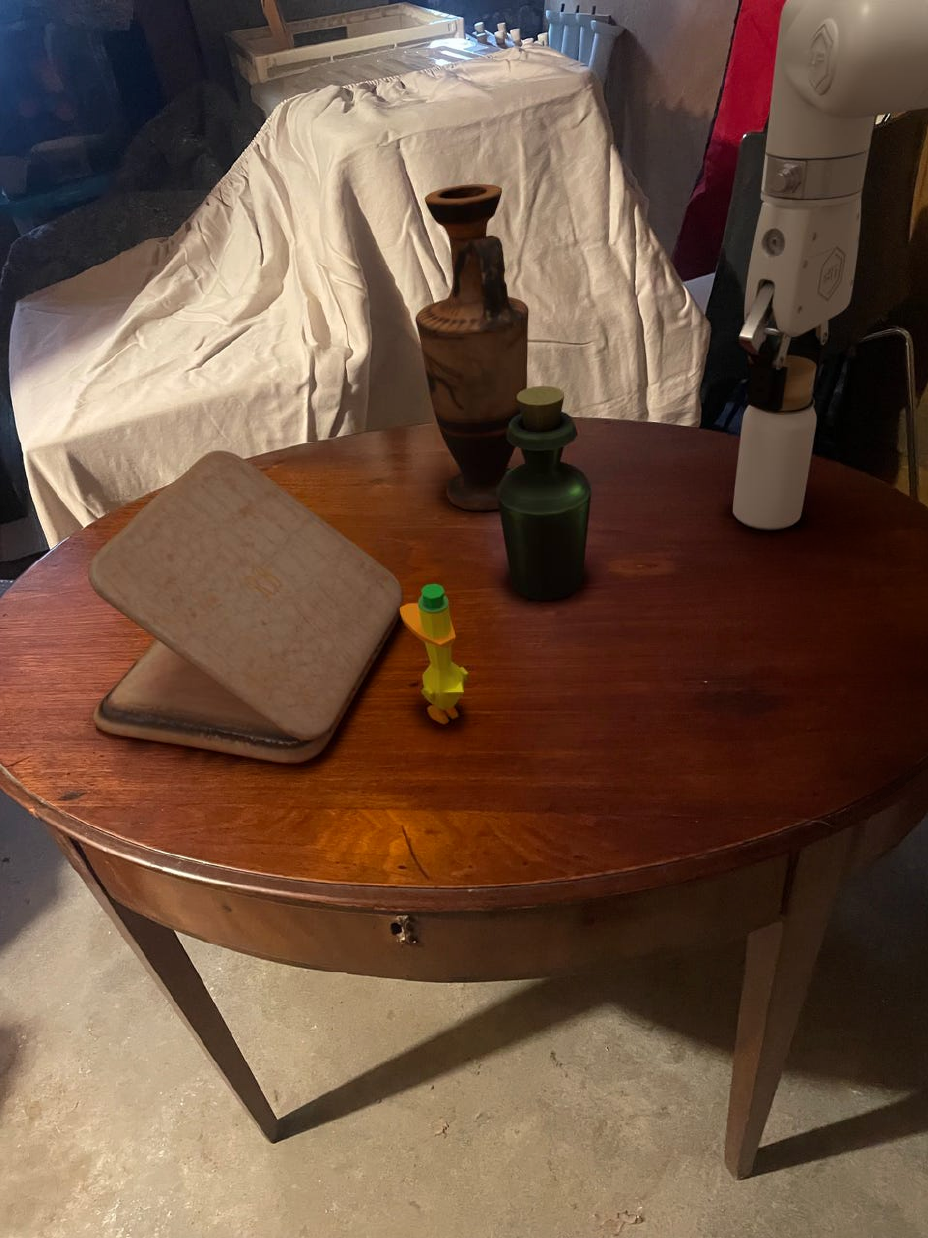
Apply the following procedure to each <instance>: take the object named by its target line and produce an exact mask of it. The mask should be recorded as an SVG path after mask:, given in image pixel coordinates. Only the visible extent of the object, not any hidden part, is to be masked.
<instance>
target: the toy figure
mask: <svg viewBox="0 0 928 1238" xmlns="http://www.w3.org/2000/svg"><path fill="white" fill-rule="evenodd" d="M420 591H421V596H420V597H419V598H418V600H417V602H416V603H413V602H412V603H411V602H410V603H406V604H405V605H401V606H400V608H399V614H400V616H401V620H402V622H403V623H404V625H405V627H406V628H407V629H408V630H409V631H410V632H411V633H412V634H413V635H414V636H415V637H416V638H418V639H419V640H420V641H422V642H423V643H424V645H425V648H426V653H427V655H428V658H429V662H430V664H429V666H428V667H427V668H426V669H425V671H424V672H423V673H422V674H421V678H422V685H423V688H421V694H422V695H423V697H424V698H425V699H426V701H428V702H429V703H430V704H431V705H429V706H428V707H427V708H426V710H427V713H428V715H429V717H430V718H431V719H432V720H434V721H435V722H437V723H440V724H442V725H446V724H447V723H448V722H450V721H449V718H451V719H452V720H454V719H457V718H459V713H458V711H457V709H456V707H455V706H456V705H457V703H458V702H459V701H460V699H461V698H462V696H463V695H464V694H465V692H466V691H465V683H469V672H468V671H467V670H466V669H465V668H464V666H461V667H460V666H459V665H458V664H456V663H455V662H454V661H452V647H453V644H454V642H455V641H456V639H457V636H456V633H455V629H454V626H453V623H452V619H451V612H450V605H449V603H450V602H449V598H448V596H446V595H445V589H444V587H443V585H440V584H437V583H430V584H425V586H423V588H422V589H420Z"/></svg>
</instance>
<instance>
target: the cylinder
mask: <svg viewBox="0 0 928 1238" xmlns="http://www.w3.org/2000/svg"><path fill="white" fill-rule="evenodd" d="M783 366H785V367H788V369H787V376H786V383H785V390H784V397H783V404H782V409H781V410H779V411H792V410H798V409H801V408H804V407H806V406H808V405H809V404H810V402H811V398H812V397H813V391H814V389H813V386H814V379H815V373H816V364H815V363H814V362H813V361H812V360H810V359H807V358H804V357H799V356H794V355H786V357H785V360H784V364H783Z"/></svg>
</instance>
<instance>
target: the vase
mask: <svg viewBox="0 0 928 1238" xmlns="http://www.w3.org/2000/svg"><path fill="white" fill-rule="evenodd" d="M502 194H503V188H502V187H500V186H498V185H495V184H485V183H473V184H472V183H471V184H469V183H468V184H460V185H455V186H449V187H448V186H447V187H444V188H440V189H438V190H435V191H432V192H430V193H428V194H426V196H425V197H424V202H425V205H426V207H427V209H428V211H429V214H430V215H431V217H432V218H433V220H434V221H435V223H437V224H438V225H439V226H442V227H443V229H444V230H445V232H446V235H447V236H448V241H449V246H450V259H451V268H452V269H451V270H452V284H451V290H450V292H449V295H448V297H447V298H445V299H442V300H438V301H435V302H433V303H430V304H427V305H426V306H424V307H423V308H421V309H420V310H419V311H418V312H417V314H416V316H415V320H414V321H415V325H416V328H417V332H418V333H417V334H418V337H419V341H420V348H421V353H422V359H423V364H424V365H423V366H424V369H425V375H426V380H427V385H428V390H429V396H430V401H431V406H432V409H433V413H434V416H435V421H436V424H437V425H438V429H439V431H440V435H441V437H442V439H443V441H444V443H445V445H446V448H447V449H448V451H449V452H450V454H451V456H452V458H453V460H454V461H455V463H456V465H457V467H458V469H459V470H460V472H458V473H457V474H456V475H454V476H452V478H451V479H450V480H449V481H448V483H447V487H446V497H447V498H448V499H449V502H450V503H451V504H452V505H453V506H455V507H458V508H460V509H464V510H466V511H467V510H468V511H475V512H484V511H485V512H486V511H487V512H488V511H494V510H495V511H496V510H499V504H498V498H497V488H498V486H499V484H500V482H501V480H502V479H503V477H504V476H505V474H506V473H507V472H508V471H510V470H512V469H513V468H510V467H508V465H509V463H510V462H511V458H512V457H513V454H514V451H515V449H516V447H515V446H513V445H512V444H511V443H509V442H508V441H507V436H506V434H507V430H508V427H509V423H510V422H511V420H512V419H513V418H514V417H515V416H517V415H519V414H521V411H520V407H519V403H518V400H517V395H518V393H519V392H521V391H522V390H524V389H527V388H528V353H529V352H528V351H529V348H528V347H529V346H528V344H529V342H528V341H529V340H528V339H529V338H528V337H529V314H530V313H529V312H530V311H529V307H528V305H527V304H526V303H525V302H523V301H522V300H520V299H519V298H516V297H512V296H509V293H508V284H507V282H506V281H505V273H506V266H505V257H504V255H505V254H504V249H503V244H502V241H501V239H500V237H499V236H497V235H496V236H495V235H492V234H491V235H487V229H488V224H489V221H490V220H491V219H492V218H493V217H495V215H496V212H497V209H498V206H499V204H500V201H501V198H502Z"/></svg>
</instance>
